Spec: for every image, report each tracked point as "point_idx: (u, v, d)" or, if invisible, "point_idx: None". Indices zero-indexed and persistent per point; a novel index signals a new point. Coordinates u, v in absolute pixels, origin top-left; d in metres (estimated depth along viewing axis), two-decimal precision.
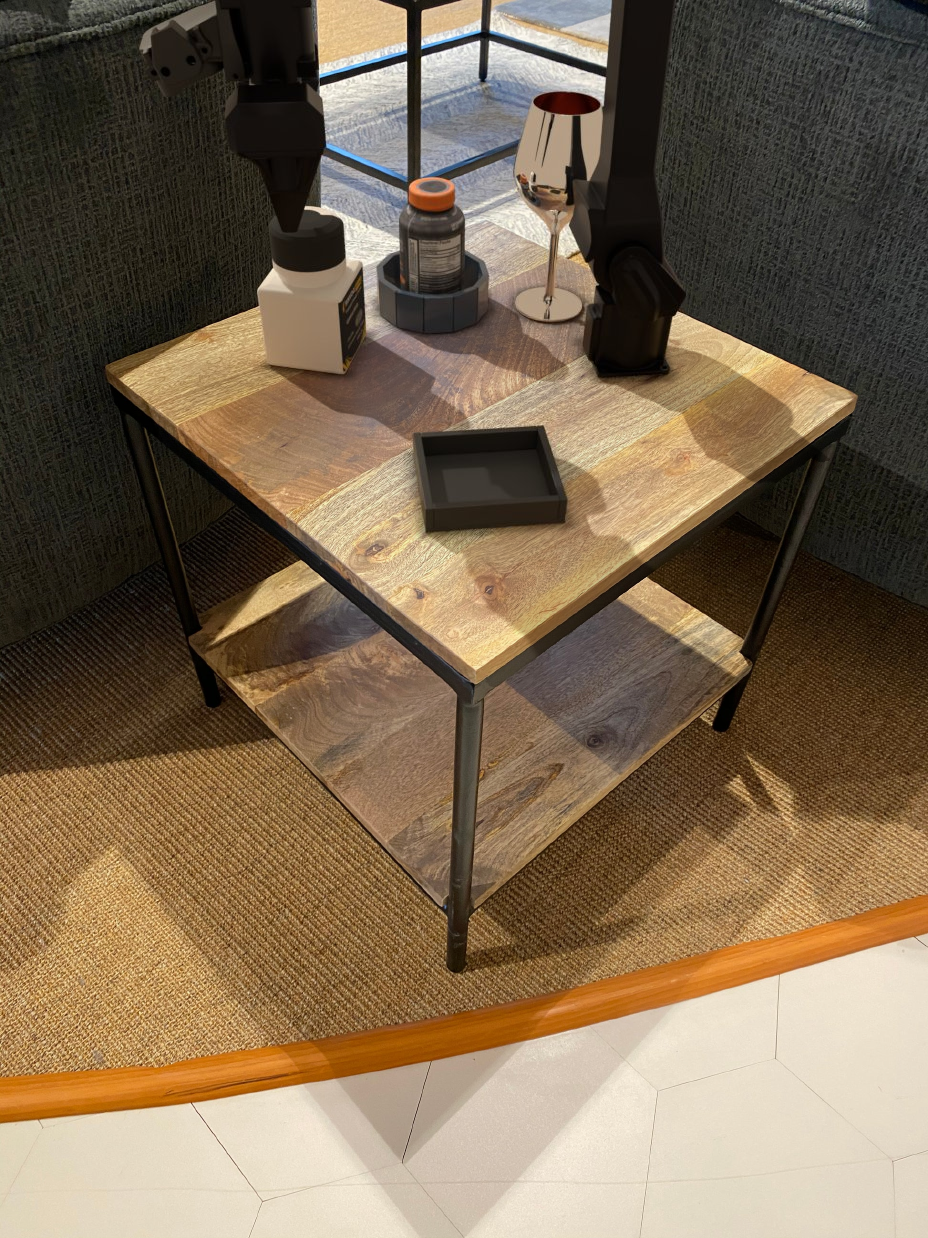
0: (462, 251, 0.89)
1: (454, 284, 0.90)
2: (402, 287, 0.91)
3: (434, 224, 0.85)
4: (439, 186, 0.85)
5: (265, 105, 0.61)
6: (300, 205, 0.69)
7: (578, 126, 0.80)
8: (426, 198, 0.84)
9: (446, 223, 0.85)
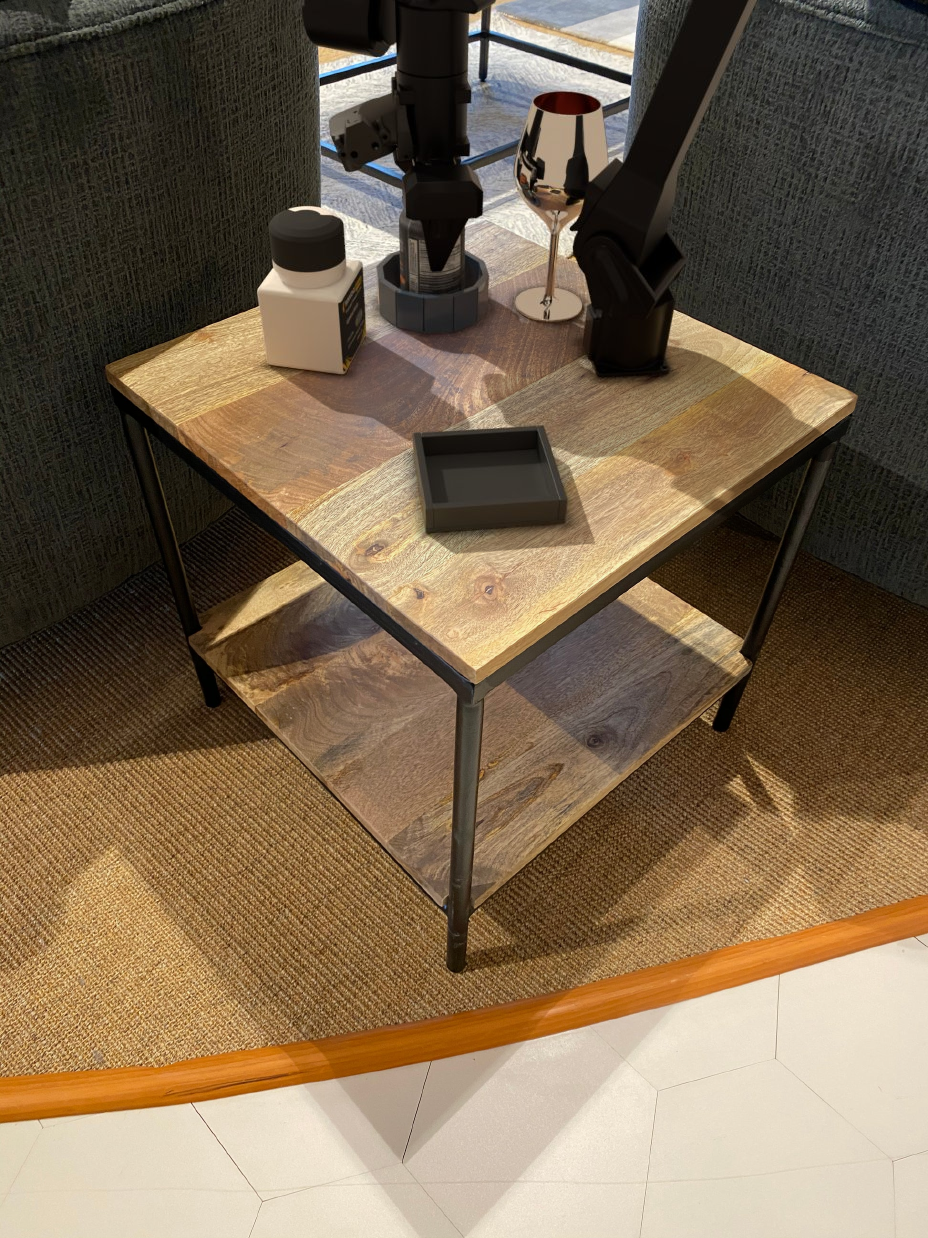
0: (462, 251, 0.89)
1: (454, 284, 0.90)
2: (402, 287, 0.91)
3: None
4: None
5: (438, 183, 0.77)
6: (448, 250, 0.86)
7: (578, 126, 0.80)
8: None
9: None
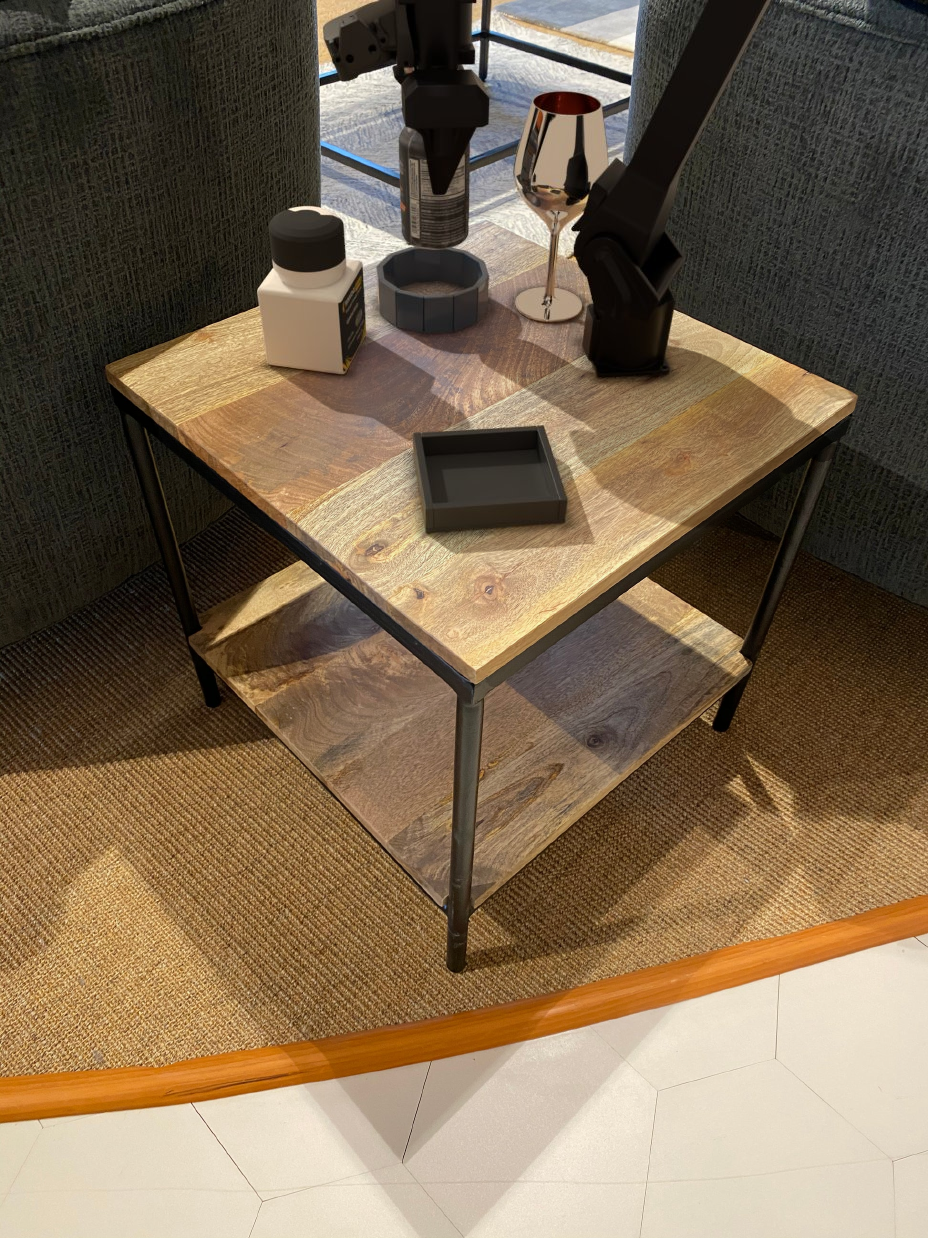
0: (467, 174, 0.82)
1: (458, 211, 0.84)
2: (402, 215, 0.85)
3: None
4: None
5: (441, 87, 0.70)
6: (452, 170, 0.79)
7: (578, 126, 0.80)
8: None
9: None
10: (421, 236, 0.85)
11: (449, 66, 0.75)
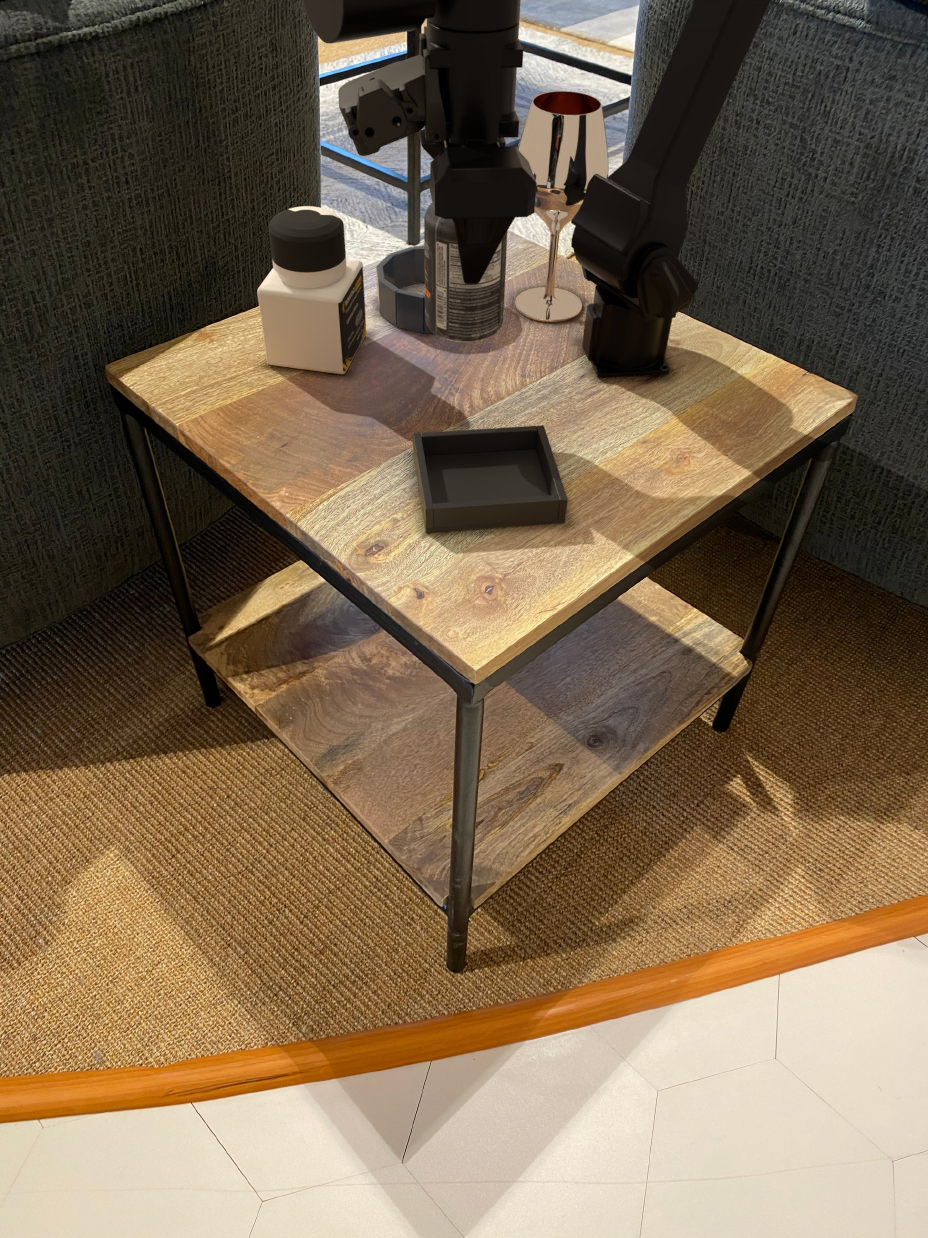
0: (503, 258, 0.70)
1: (492, 300, 0.72)
2: (427, 302, 0.73)
3: None
4: None
5: (478, 171, 0.58)
6: (487, 257, 0.67)
7: (578, 126, 0.80)
8: None
9: None
10: (448, 328, 0.73)
11: (487, 140, 0.63)
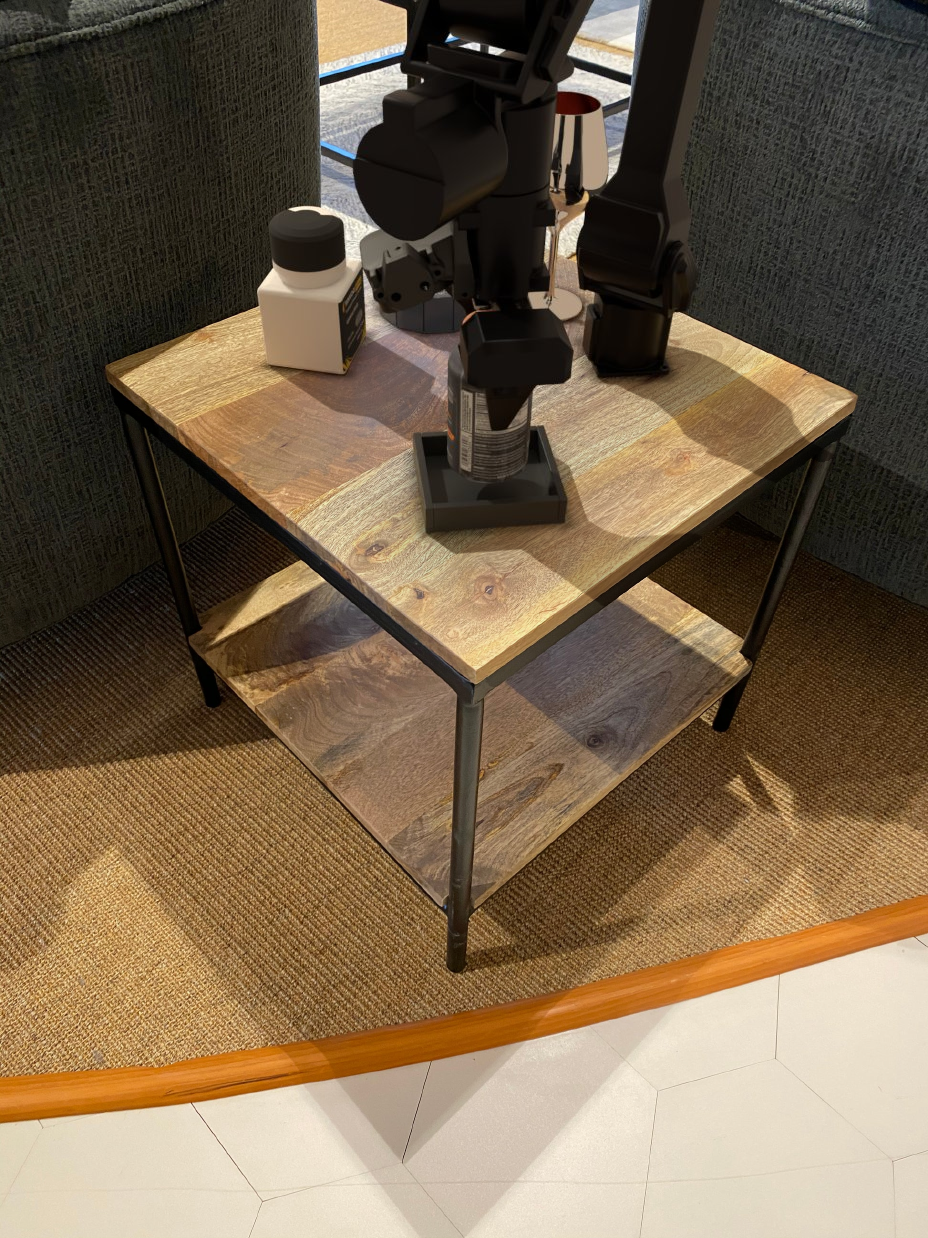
0: (530, 402, 0.68)
1: (519, 442, 0.69)
2: (450, 443, 0.70)
3: None
4: None
5: (514, 342, 0.56)
6: (516, 407, 0.65)
7: (578, 126, 0.80)
8: None
9: None
10: (473, 470, 0.70)
11: (517, 295, 0.60)
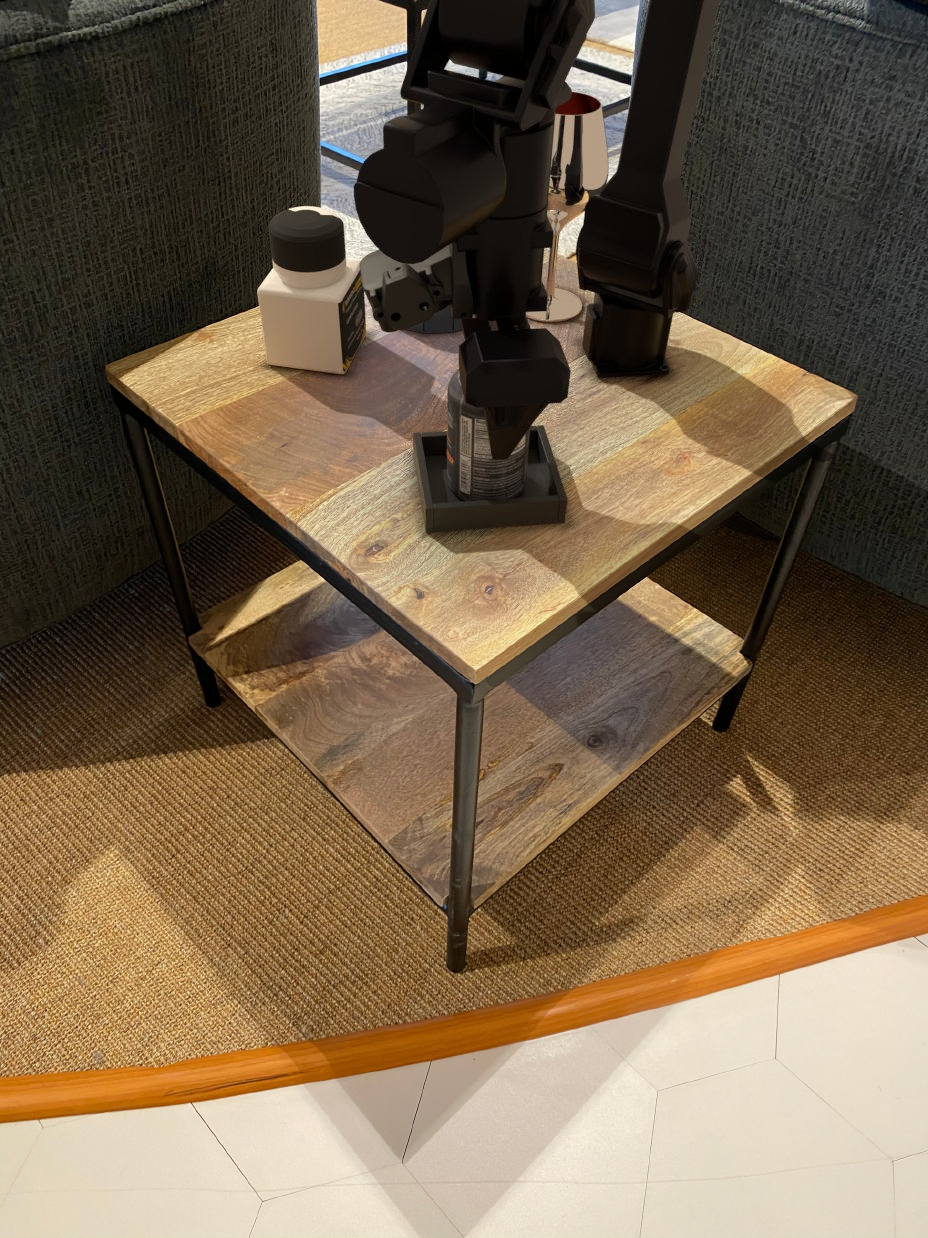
0: None
1: (517, 466, 0.70)
2: (449, 466, 0.72)
3: None
4: None
5: (511, 362, 0.56)
6: (518, 437, 0.65)
7: (578, 126, 0.80)
8: None
9: None
10: (472, 493, 0.71)
11: (515, 315, 0.61)
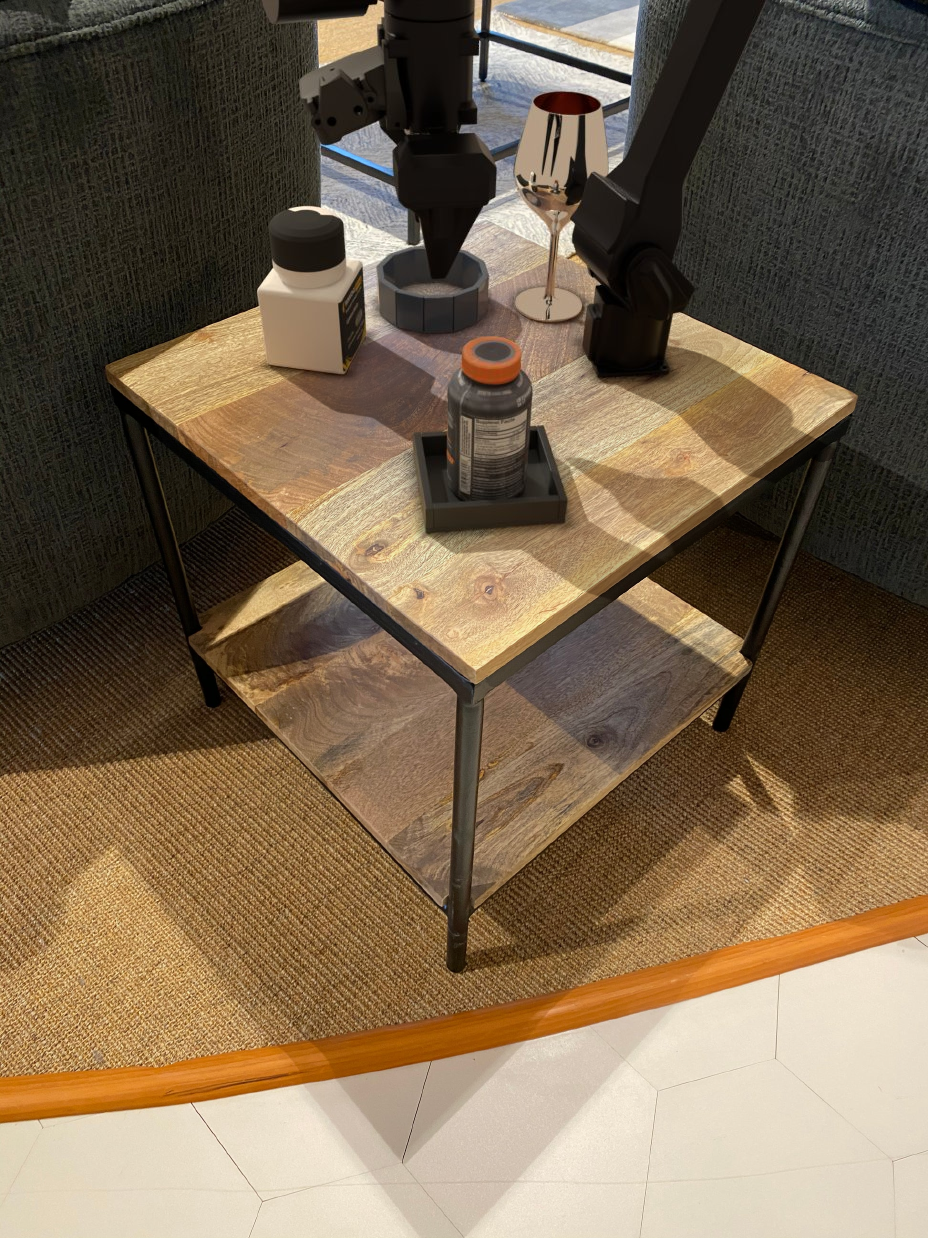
0: (528, 427, 0.69)
1: (517, 466, 0.70)
2: (449, 466, 0.72)
3: (495, 400, 0.66)
4: (502, 351, 0.66)
5: (440, 157, 0.60)
6: (453, 252, 0.68)
7: (578, 126, 0.80)
8: (485, 369, 0.65)
9: (510, 398, 0.66)
10: (472, 493, 0.71)
11: (447, 127, 0.65)
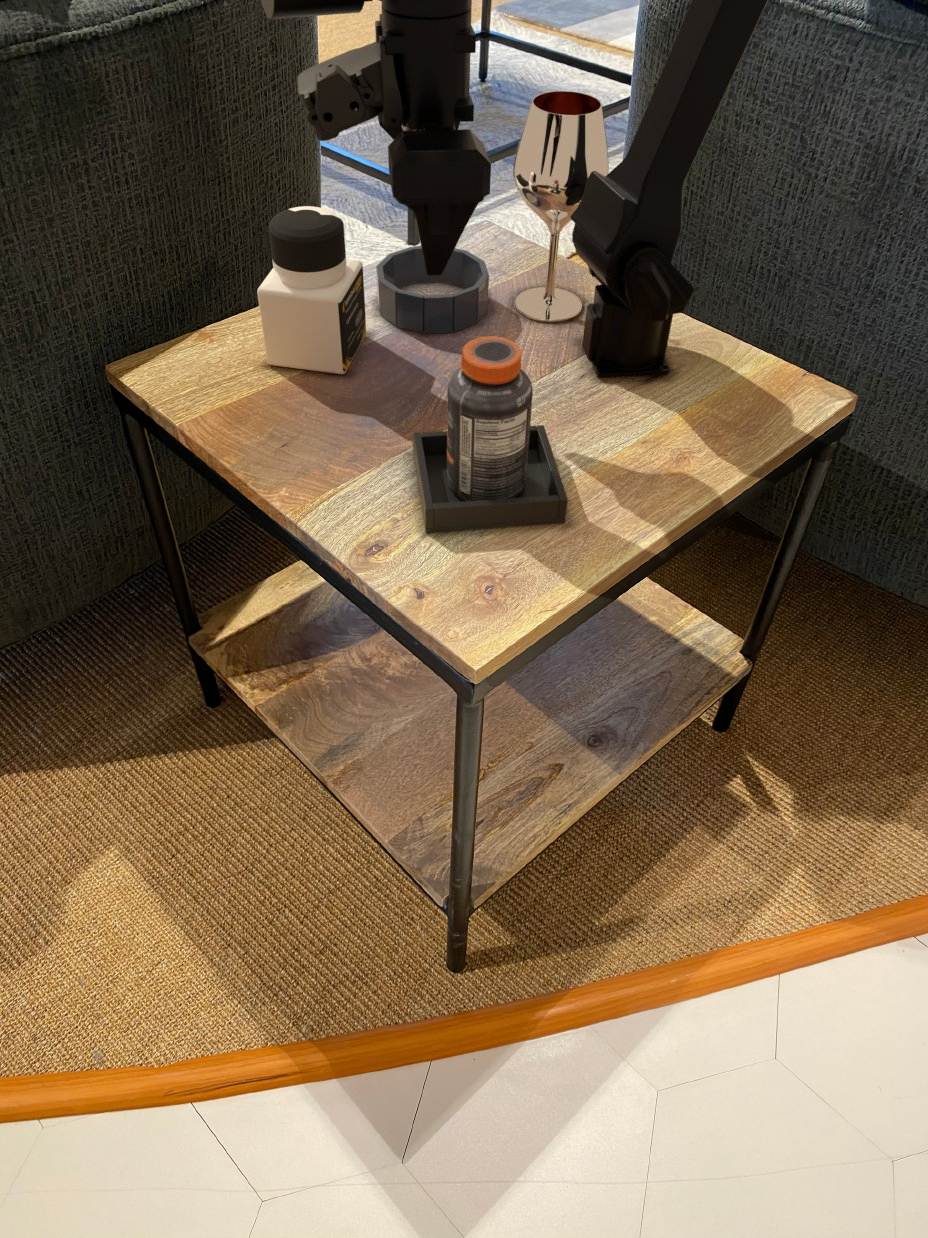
0: (528, 427, 0.69)
1: (517, 466, 0.70)
2: (449, 466, 0.72)
3: (495, 400, 0.66)
4: (502, 351, 0.66)
5: (434, 153, 0.60)
6: (449, 248, 0.68)
7: (578, 126, 0.80)
8: (485, 369, 0.65)
9: (510, 398, 0.66)
10: (472, 493, 0.71)
11: (444, 124, 0.65)
